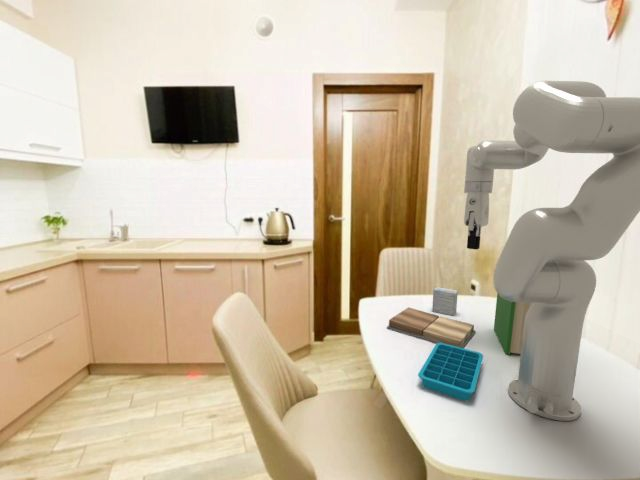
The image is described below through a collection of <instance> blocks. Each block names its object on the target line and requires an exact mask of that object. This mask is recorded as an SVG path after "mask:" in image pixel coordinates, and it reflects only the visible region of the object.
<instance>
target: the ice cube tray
mask: <svg viewBox="0 0 640 480" xmlns="http://www.w3.org/2000/svg"><path fill="white" fill-rule="evenodd" d="M483 359H484V355H483V353H481V352H478V351H475V350H471V349H468V348H465V347H464V348H460V347H456V346H452V345H448V344H444V343H437V344H436V343H435V345H434V347H433V348H432V350H431V352H430V353H429V355H428V357H427V359H426V361H425V362H424V363H423V365H422V367H421V369H420V370H419V372H418V374H417V375H418V378H420V379H421V384H422V386H423V387H424V388H425V389H428V390H430V391H434V392H436V393H437V392H438V393H439V394H443V395H446V394H447V395H446V396H449V397H452V398H455V399H459V400H460V401H461V400H462V401H464V402H466V401H467V400H468V401H469V400H470V399H471V397H472V394H475V390H476V387H477V383H478V379H479V375H480V371H481V367H482V364H483ZM468 401H467V402H468Z"/></svg>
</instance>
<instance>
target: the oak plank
mask: <svg viewBox="0 0 640 480" xmlns="http://www.w3.org/2000/svg"><path fill="white" fill-rule="evenodd" d="M474 328H475V324H472V323H467V322H463V321H459V320H457V319H456V320H455V319H452V318H448V317H444V316H439V318H437V319H436V320H435V321H434V322H433V323H432V324H431V325H429V326H428V327H427V328H426V329H425V330H424V331H423V337H425V338H428V339H431V340H435V341H438V342H441V343H445V344H448V345H452V346H456V347H460V348H461V346H462V345H463V344H464V342H465V341H466V340H467V339H468V337H469V336H470V335H471V333H472V332H473V331H474V330H475V329H474Z"/></svg>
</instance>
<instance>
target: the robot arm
mask: <svg viewBox="0 0 640 480" xmlns="http://www.w3.org/2000/svg"><path fill="white" fill-rule="evenodd" d="M512 118H513V121H514V123H515V124H514V126H513V138H514V140H483V141H480V142H479V143H477V145H473V146H471V147H469V148H468V150H467V154H466V165H465V177H464V191H463V193H464V194H466V199H465V206H464V207H465V208H464V217H463V218H464V219H463V223H464V225H465V227H467V240H466V241H467V244H466V248H467V249H469V250H476V251H477V250H479V249H480V245H481V233H482V228H483V227H486V226H488V225H489V214H490V194H493V184H494V176H495V175H494V174H495V170H521V169H524V168H527V167H529V166H532V165H534V164H536V163H538V162H540V161H541V160H542V159H543V158H544V157H545V156H546V154H547V152H549V149H551V150H552V151H556V152H560V153H566V154H612V155H613V157H612V158H611V159H610V160H608V161H607V162H606V163H604V164H602V165H601V166H600V167H598V168H597V169H596V170H595V171H594V172H593V173H591V174H590V175H589V176H588V177H587V178H586V179H585V181H584V182H583V183H582V185H581V186H580V188H579V189H578V192H577V194H576V195H575V197H574V199H573V200H572V202H571V203H569V204H568V205H566V206H564V207H538V208H533V209H531V210H529V211H527V212H525V213H523V214H522V215H521V216H520V217H519V218H518V220H516V222H515V223H514V225H513V227H512V229H511V232H510V233H509V236H508V237H507V240H506V242H505V244H504V247H503V248H502V250H501V253H500V255H499V257H498V259H497V261H496V264H495V267H494V270H493V275H492V276H493V277H492V278H493V279H492V280H493V288H494V290H495V292H496V294H497V293H498V294H499V295H500V296H501V297H502V298H504V299H506V300H508V301H512V302H524V303H532V305H531V306H530V308H529V309H528V311H527V314H526V317H525V322H524V330H523V339H522V347H521V354H520V356H519V357H520V358H519V366H518V367H519V368H518V375H517V379H515V380H512V381H511V382H509V384H508V389H507V390H508V395H509V396H510V398H511V399H512V400H513V401H514V402H515V403H516V404H518V405H519V406H520V407H521V408H523V409H525V410H527V411H528V412H529V413H530V414H535V415H537V416H540V417H543V418H546V419H550V420H552V421H553V420H556V421H560V422H561V421H562V422H564V421H565V422H567V421H574V420H577V419H578V418H579V417H580V416H581V412H582V407H581V405H580V403H579V401H578V400H577V399H576V398H575V397H574V396H573V395H574V389H575V384H576V376H577V369H578V361H579V354H580V347H581V340H582V334H583V328H584V324H585V323H584V322H585V318H586V315H587V311H588V308H589V305H590V303H591V300H592V299H593V296H594V293H595V290H596V287H597V275H596V272H595V270H594V268H593V267H592V265H590V263H588V262H587V261H595V260H599V259H601V258H604V257H605V256H607V255H608V254H609V253H610V252H611V251H612V250H613V249H614V247H615V246H616V245H617V243H618V242H619V240H620V239H621V238H622V237H623V235H624V234H625V232H626V230H627V229H629V227H630V226H631V224H632V222H633V221H634V220H635V218H636V217H637V215H638V214H639V213H640V97H634V96H633V97H632V96H631V97H629V96H627V97H626V96H625V97H621V96H619V97H607V95H606V93H605V91H604V89H602V87H600V86H599V85H597V84H596V83H593V82H589V81H581V80H580V81H579V80H573V81H572V80H541V81H540V80H539V81H537V82H534V83H531V85H530V84H529V86H527V87H526V88H525V89H524V90H522V92H521V93H520V94H519V95H518V97H517V98H516V100H515V103H514V105H513V108H512Z"/></svg>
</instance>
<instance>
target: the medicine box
mask: <svg viewBox="0 0 640 480" xmlns="http://www.w3.org/2000/svg"><path fill="white" fill-rule="evenodd" d="M432 292H433V293H432V307H431V312H433V313H438V314H444V315H449V316H456V313H457V308H458V294H459V293H458V292H459V291H458V290H456V289H452V288H451V289H450V288H445V287H435V288H434V289H433V290H432Z"/></svg>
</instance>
